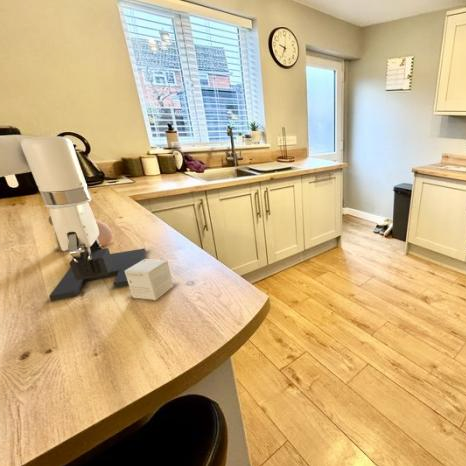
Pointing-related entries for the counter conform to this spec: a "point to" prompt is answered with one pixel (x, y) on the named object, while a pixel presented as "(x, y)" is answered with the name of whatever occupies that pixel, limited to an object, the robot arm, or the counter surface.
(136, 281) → the product box
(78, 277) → the foam pad
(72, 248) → the robot arm
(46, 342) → the counter surface
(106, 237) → the egg
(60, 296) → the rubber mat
